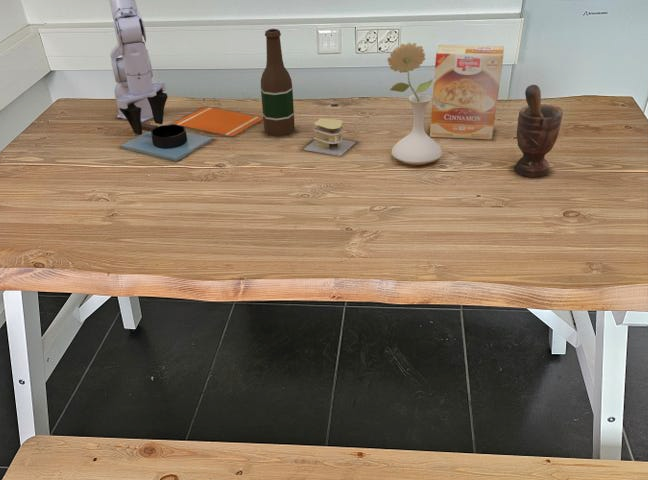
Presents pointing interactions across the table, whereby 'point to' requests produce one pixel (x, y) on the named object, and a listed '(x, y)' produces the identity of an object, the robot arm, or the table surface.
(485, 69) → the coffeecake box
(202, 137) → the trivet
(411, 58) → the flower in vase
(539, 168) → the mortar and pestle
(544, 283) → the table surface
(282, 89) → the beer bottle
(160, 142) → the skillet
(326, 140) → the stacked layers on plate
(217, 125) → the tea towel
